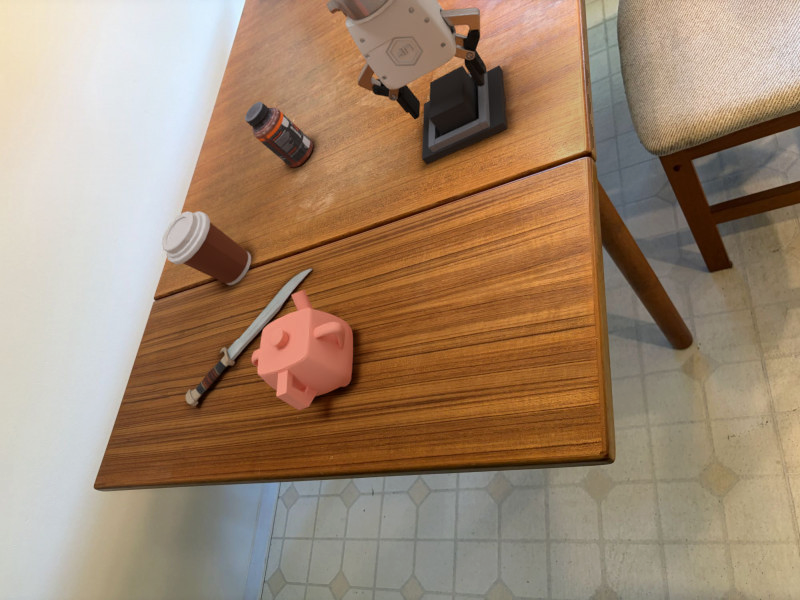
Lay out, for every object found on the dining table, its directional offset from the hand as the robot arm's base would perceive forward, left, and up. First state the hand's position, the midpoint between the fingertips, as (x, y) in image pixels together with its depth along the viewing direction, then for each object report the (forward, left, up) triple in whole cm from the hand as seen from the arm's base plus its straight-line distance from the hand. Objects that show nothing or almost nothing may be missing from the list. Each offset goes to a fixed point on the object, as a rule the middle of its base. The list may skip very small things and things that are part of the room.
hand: (448, 95), depth 73 cm
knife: (+36, +24, -5) cm, 44 cm away
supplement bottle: (+32, -10, -5) cm, 34 cm away
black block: (0, 0, -3) cm, 3 cm away
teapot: (+19, +32, -5) cm, 37 cm away
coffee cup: (+43, +10, -5) cm, 44 cm away
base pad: (0, 0, -5) cm, 5 cm away
